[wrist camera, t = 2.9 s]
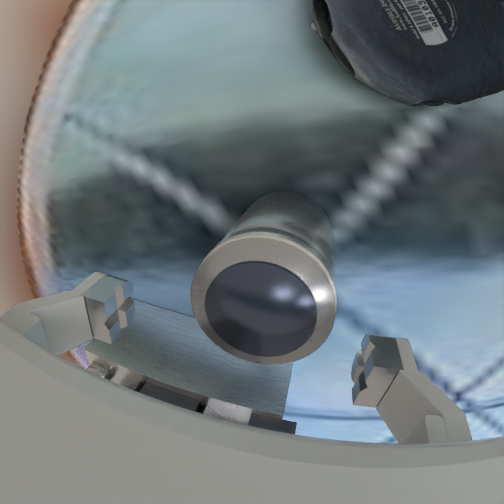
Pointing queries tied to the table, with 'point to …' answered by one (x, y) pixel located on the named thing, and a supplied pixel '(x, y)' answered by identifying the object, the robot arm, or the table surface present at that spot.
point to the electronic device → (418, 46)
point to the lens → (270, 282)
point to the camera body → (192, 370)
